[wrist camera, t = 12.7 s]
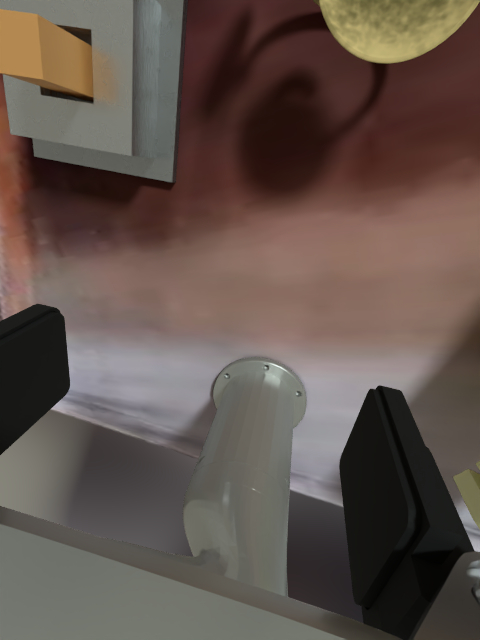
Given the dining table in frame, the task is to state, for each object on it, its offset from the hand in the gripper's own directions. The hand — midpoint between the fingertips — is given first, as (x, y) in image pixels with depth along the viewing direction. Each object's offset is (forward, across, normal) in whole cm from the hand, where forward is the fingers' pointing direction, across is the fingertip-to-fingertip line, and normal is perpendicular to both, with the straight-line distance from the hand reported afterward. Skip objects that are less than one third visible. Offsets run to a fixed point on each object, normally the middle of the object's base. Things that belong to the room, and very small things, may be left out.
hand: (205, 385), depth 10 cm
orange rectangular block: (+27, +20, -11) cm, 36 cm away
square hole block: (+28, +20, -11) cm, 36 cm away
